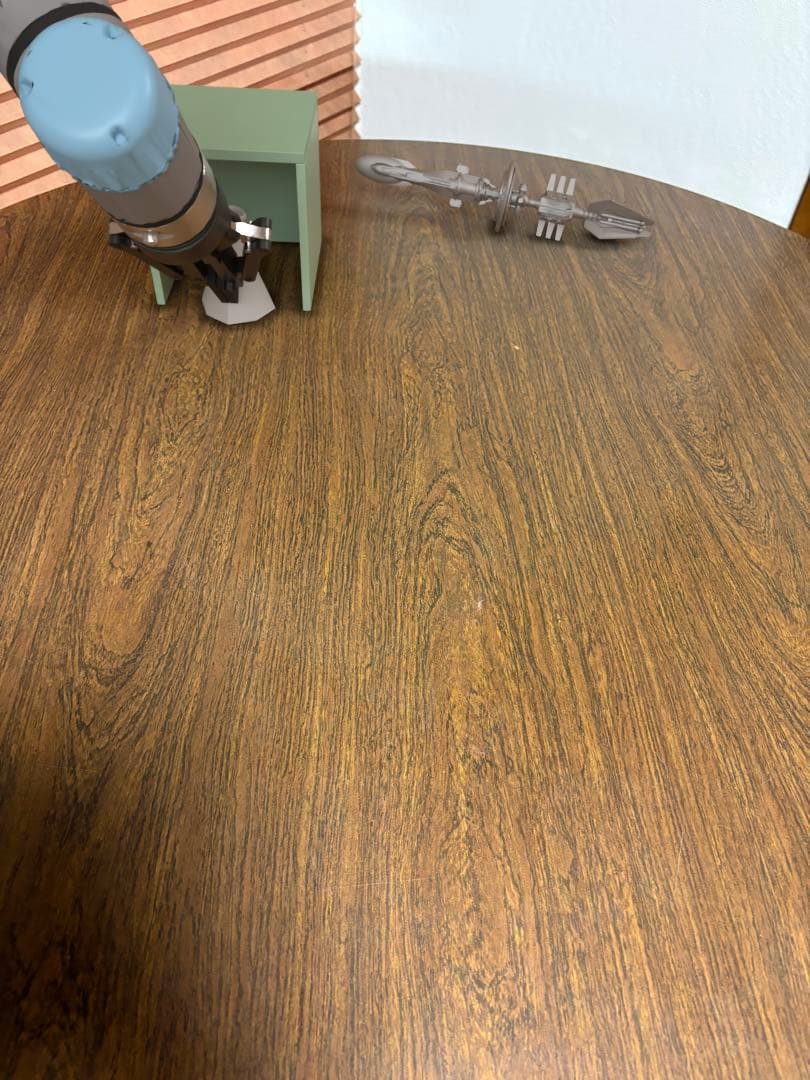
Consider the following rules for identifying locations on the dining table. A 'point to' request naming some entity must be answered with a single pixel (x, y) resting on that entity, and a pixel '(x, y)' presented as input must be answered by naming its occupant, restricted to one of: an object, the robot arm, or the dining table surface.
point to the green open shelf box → (261, 163)
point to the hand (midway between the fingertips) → (230, 289)
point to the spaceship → (511, 197)
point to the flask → (240, 295)
